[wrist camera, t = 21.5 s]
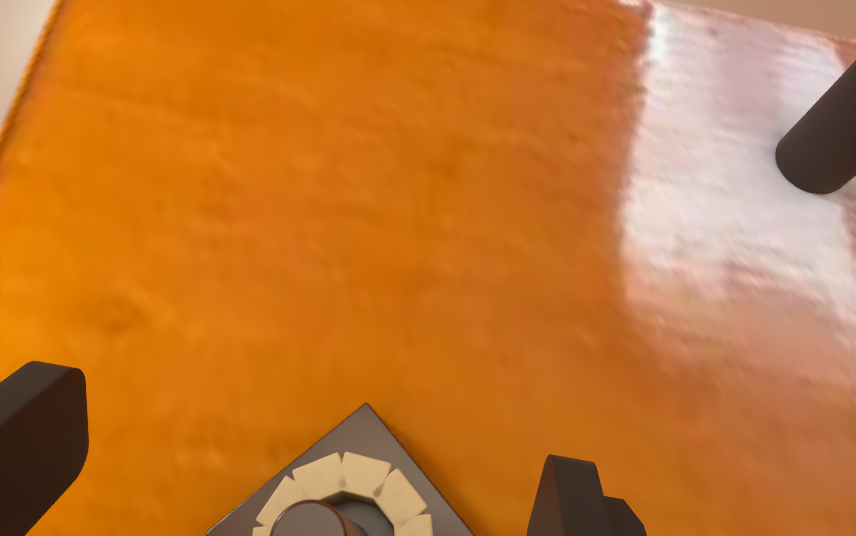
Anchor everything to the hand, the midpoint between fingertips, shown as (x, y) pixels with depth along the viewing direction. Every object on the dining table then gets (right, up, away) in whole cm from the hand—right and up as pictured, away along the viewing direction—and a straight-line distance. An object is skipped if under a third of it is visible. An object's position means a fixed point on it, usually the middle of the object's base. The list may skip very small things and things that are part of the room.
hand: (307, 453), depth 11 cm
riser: (+23, +9, +24) cm, 35 cm away
